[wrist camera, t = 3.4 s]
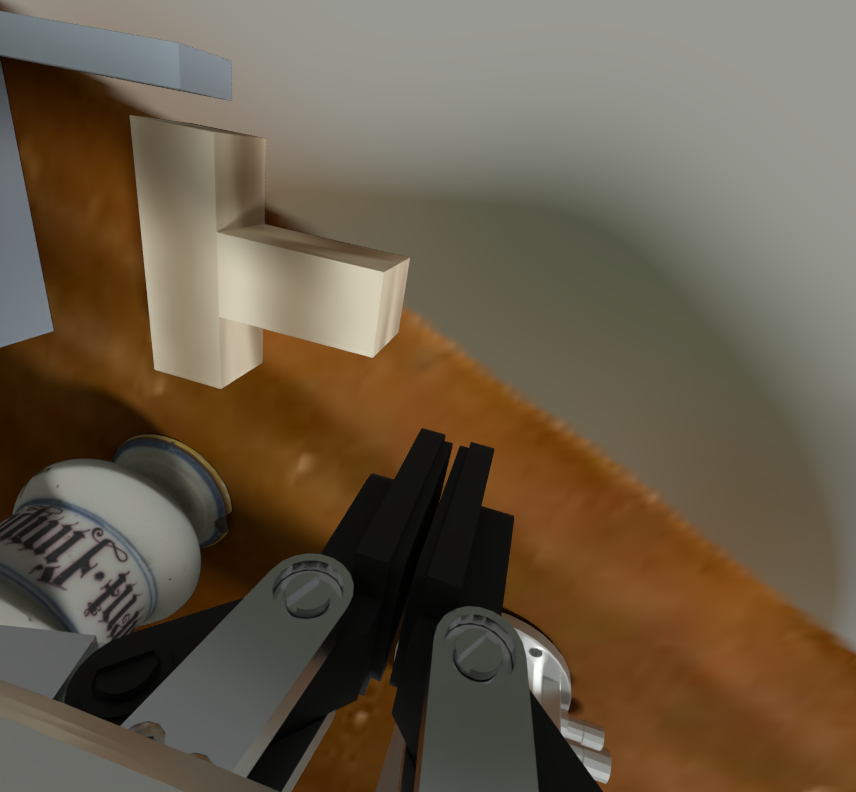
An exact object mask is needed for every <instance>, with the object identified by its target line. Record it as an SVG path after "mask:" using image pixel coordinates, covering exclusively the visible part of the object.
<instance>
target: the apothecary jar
mask: <svg viewBox="0 0 856 792" xmlns="http://www.w3.org/2000/svg"><path fill="white" fill-rule="evenodd" d="M231 512H232V505H231V500H230V496H229V493H228V491H227V488H226V486H225V484H224V482H223V481H222V479H221V478H220V476H219V475H218V474H217V472H216V471H215V470H214V468H213V467H212V466H211V465H210V464H209V463H208V462H207V461H206V460H205V459H204V458H203V457H202V456H201V455H200V454H198V453H197V452H196V451H194V450H193V449H192V448H190V447H188V446H187V445H185V444H183V443H181V442H179V441H177V440H174V439H172V438H168V437H165V436H160V435H152V434H149V435H139V436H135V437H132V438H130V439H128V440H127V441H125V442H124V443H123V444H122V445H121V446H120V447H119V448H118V449H117V451H116V453H115V455H114V458H113V462H109V461H104V460H97V459H72V460H66V461H61V462H58V463H55V464H52V465H50V466H48V467H46V468H44V469H42V470H41V471H39V472H38V473H37V474H36V475H34V476H33V477H32V478H31V479H30V480H29V481H28V482H27V483H26V485H25V486H24V487H23V489H22V490H21V492H20V494H19V495H18V498H17V500H16V502H15V506H14V509H13V514H12V516H10V517H9V518H7V519H6V520H4V521H3V522H1V523H0V625H7V626H16V627H25V628H34V629H43V630H52V631H61V632H70V633H79V634H88V635H96V637H97V642H99V643H108V642H110V641H113V640H115V639H117V638H120V637H122V636H124V635H127V634H130V633H132V632H133V631H134V630H135V629H136V628H137V627H138V626H139V625H145V624H150V623H153V622H157V621H159V620H162V619H164V618H166V617H168V616H170V615H172V614H173V613H174V612H176V611H177V610H178V609H180V608H181V607H182V606H183V605H184V604H185V603H186V602H187V601H188V599H189V598H190V597H191V595H192V594H193V592H194V590H195V588H196V586H197V583H198V580H199V576H200V570H201V554H200V548H206V547H209V546H211V545H214V544H215V543H217V542H219V541H220V540H221V539H222V538H223V537H224V536H225V535H226V534H227V532H228V530H229V528H228V524H227V519H226V517H227V515H228V514H229V513H231Z"/></svg>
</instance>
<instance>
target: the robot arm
mask: <svg viewBox="0 0 856 792" xmlns="http://www.w3.org/2000/svg"><path fill="white" fill-rule="evenodd" d="M452 445H453V443H450V442H446V441H445V434H441V433H438V432H434V431H431V430H427V429H424V428H422V429H421V430H420V432H419V434H418V436H417V438H416V440H415V442H414V444H413V445H412V447H411V449H410V451H409V453H408V455H407V457H406V458H405V460H404V462H403V464H402V466H401V468H400V470H399V472H398V473H397V475H396V477H395V479H394V480H393V479H390V478H387V477H383V476H380V475H377V474H374V473H373V474H371V475H370V476H369V477H368V479H367V480H366V482H365V484H364V485H363V487H362V488H361V490H360V492H359V493H358V495H357V496H356V498H355V500H354V501H353V503H352V504H351V506H350V508H349V509H348V511H347V512H346V514H345V516H344V517H343V519H342V521H341V522H340V524H339V525H338V527H337V529H336V530H335V532H334V533H333V535H332V537H331V538H330V540H329V541H328V543H327V545H326V546H325V548H324V549H323V551H322V553H321V554H309V553H308V554H302V555H296V556H293V557H291V558H288V559H286V560H284V561H282V562H281V563H279V564H278V565H277V566H276V567H274V568H273V569H272V570H271V571H270V572H269V573H268V574H267V575H266V576H265V577H264V578H263V579H262V580H261V581H260V582H259V583H258V584H257V585H256V586H255V587H254V588H253V589H252V590H251V591H250V592H249V594H248V595H247V596H246V597H245V598H242V599H239V600H235V601H232V602H229V603H226V604H223V605H219V606H216V607H213V608H210V609H207V610H204V611H200V612H197V613H194V614H191V615H188V616H184V617H181V618H178V619H175V620H172V621H169V622H165V623H162V624H159V625H156V626H153V627H149V628H146V629H143V630H140V631H137V632H134V633H130V634H127V635H124V636H122V637H120V638H117V639H115V640H113V641H110V642H108V643H99V642H97V637H96V635H88V634H79V633H70V632H61V631H52V630H43V629H34V628H25V627H16V626H7V625H0V792H291V791H292V789H293V788H294V786H295V784H296V782H297V781H298V779H299V777H300V775H301V774H302V772H303V770H304V769H305V767H306V765H307V763H308V762H309V760H310V758H311V757H312V755H313V753H314V751H315V750H316V748H317V746H318V745H319V743H320V741H321V739H322V738H323V736H324V734H325V732H326V731H327V729H328V727H329V726H330V724H331V722H332V720H333V717H334V715H335V712H336V710H337V709H339V708H341V707H343V706H345V705H347V704H349V703H352V702H354V701H356V700H357V698H358V695H359V694H360V695H363V696H364V694H365V691H366V689H367V686H368V683H369V681H370V678H373V679H375V680H378V681H381V679H382V676H383V673H384V671H385V668H386V665H387V662H388V659H389V656H390V654H391V651H392V648H393V645H394V642H395V639H396V636H397V634H398V631H399V628H400V625H401V622H402V619H403V616H404V614H405V616H404V621H403V625H402V629H401V634H400V638H399V641H398V644H397V646H396V650H395V657H394V665H393V670H392V674H391V678H390V683H389V685H392V686H394V687H397V688H398V689H397V693H396V697H395V701H394V706H393V710H392V715H393V717H394V719H395V721H396V725H395V728H394V731H393V735H392V738H391V741H390V745H389V748H388V751H387V755H386V758H385V762H384V765H383V768H382V772H381V775H380V778H379V782H378V785H377V788H376V792H603V791H602V790H601V788H600V787H599V786H598V784H597V783H596V781H595V780H597V781H600V782H602V783H605V784H606V783H607V782H608V779H609V776H610V771H611V755H610V751H609V750H608V749H607V748H604V747H603V744H604V728H603V727H602V726H600V725H597V724H595V723H592V722H589V721H586V720H580V719H577V718H575V717H572V716H569V715H568V710H569V706H570V702H571V678H570V673H569V669H568V667H567V664H566V662H565V660H564V658H563V656H562V655H561V654H560V652H559V651H558V650H557V648H556V647H555V646H554V645H553V644H552V643H551V642H550V641H549V640H548V639H547V638H546V637H545V636H544V635H543V634H542V633H540V632H539V631H537V630H536V629H534V628H533V627H531V626H530V625H528V624H527V623H525V622H523V621H521V620H519V619H517V618H515V617H513V616H511V615H508V614H505V613H502V608H503V600H504V593H505V585H506V577H507V570H508V562H509V554H510V547H511V539H512V532H513V524H514V516H512V515H509V514H506V513H502V512H499V511H496V510H493V509H489V508H486V507H483V506H481V505H482V501H483V496H484V492H485V488H486V483H487V479H488V475H489V471H490V466H491V462H492V458H493V454H494V448H491V447H487V446H484V445H480V444H477V443H473V442H471V444H470V447H469V448H467V447H464V446H460V447H459V450H458V453H457V455H456V458H455V461H454V464H453V466H452V469H451V472H450V475H449V477H448V480H447V483H446V486H445V489H444V491H443V494H442V497H441V492H442V488H443V484H444V480H445V475H446V471H447V467H448V463H449V458H450V454H451V450H452ZM440 497H441V500H440ZM439 501H440V502H439ZM405 611H406V612H405Z"/></svg>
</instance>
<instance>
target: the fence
mask: <svg viewBox="0 0 856 792" xmlns="http://www.w3.org/2000/svg"><path fill="white" fill-rule="evenodd" d="M0 56H3V57H8V58H13V59H18V60H23V61H28V62H34V63H39V64H44V65H49V66H54V67H59V68H64V69H70V70H75V71H80V72H85V73H90V74H95V75H101V76H106V77H111V78H116V79H122V80H127V81H132V82H137V83H142V84H148V85H152V86H157V87H162V88H167V89H173V90H178V91H183V92H188V93H193V94H198V95H204V96H209V97H214V98H219V99H224V100H229V101H232V74H231V73H232V71H231V70H232V67H231V61H230V60H227V59H224V58H221V57H218V56H215V55H212V54H209V53H207V52H204V51H201V50H198V49H195V48H192V47H189V46H186V45H184V44H181V43H177V42H172V41H166V40H160V39H155V38H149V37H144V36H138V35H133V34H127V33H121V32H116V31H110V30H104V29H98V28H93V27H88V26H82V25H76V24H70V23H65V22H59V21H53V20H48V19H43V18H37V17H31V16H26V15H20V14H15V13H9V12H3V11H0ZM52 331H54V330H53V325H52V320H51V315H50V310H49V305H48V300H47V295H46V290H45V284H44V279H43V274H42V269H41V264H40V259H39V254H38V249H37V244H36V239H35V233H34V228H33V223H32V218H31V213H30V208H29V203H28V198H27V193H26V188H25V182H24V177H23V172H22V167H21V162H20V157H19V152H18V147H17V142H16V137H15V131H14V126H13V121H12V116H11V111H10V106H9V101H8V96H7V91H6V86H5V81H4V75H3V70H2V65H1V60H0V347H4V346H7V345H10V344H13V343H16V342H20V341H23V340H26V339H29V338H33V337H36V336H39V335H42V334H46V333H49V332H52Z"/></svg>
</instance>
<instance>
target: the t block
mask: <svg viewBox="0 0 856 792" xmlns="http://www.w3.org/2000/svg"><path fill="white" fill-rule="evenodd" d="M130 125H131V135H132V145H133V155H134V165H135V176H136V186H137V196H138V206H139V216H140V226H141V236H142V246H143V256H144V267H145V277H146V287H147V297H148V307H149V317H150V327H151V337H152V348H153V358H154V368H155V370H158V371H161V372H165V373H168V374H172V375H175V376H179V377H182V378H186V379H189V380H192V381H196V382H199V383H203V384H206V385H210V386H213V387H216V388H220V389H222V388H223V387H225V386H226V385H228V384H229V383H231V382H233V381H234V380H236V379H237V378H239V377H240V376H242V375H244V374H245V373H247V372H248V371H250V370H251V369H253V368H255V367H256V366H258V365H259V364H261V363H262V360H263V329H267V330H271V331H274V332H278V333H282V334H286V335H289V336H293V337H297V338H301V339H304V340H308V341H312V342H316V343H319V344H323V345H327V346H331V347H334V348H338V349H342V350H346V351H349V352H353V353H357V354H361V355H364V356H368V357H372V358H373V357H374V356H375V355H376V354H377V353H378V352H379V351H380V350H381V349H382V348H383V347H384V346H385V345H386V344H387V343H388V342H389V341H390V340H391V339H392V338H393V337H394V336H395V335H396V334H397V333H398V331H399V325H400V318H401V312H402V305H403V299H404V292H405V286H406V279H407V272H408V266H409V260H410V258H409V257H405V256H400V255H396V254H391V253H387V252H383V251H378V250H374V249H370V248H366V247H362V246H357V245H353V244H349V243H344V242H340V241H336V240H331V239H327V238H323V237H319V236H314V235H310V234H305V233H301V232H297V231H293V230H288V229H284V228H280V227H275V226H271V225H267V224H265V181H266V180H265V179H266V177H265V176H266V139H265V138H261V137H256V136H251V135H246V134H241V133H237V132H232V131H227V130H222V129H217V128H212V127H207V126H202V125H197V124H192V123H185V122H178V121H170V120H163V119H155V118H148V117H141V116H133V115H130Z"/></svg>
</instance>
